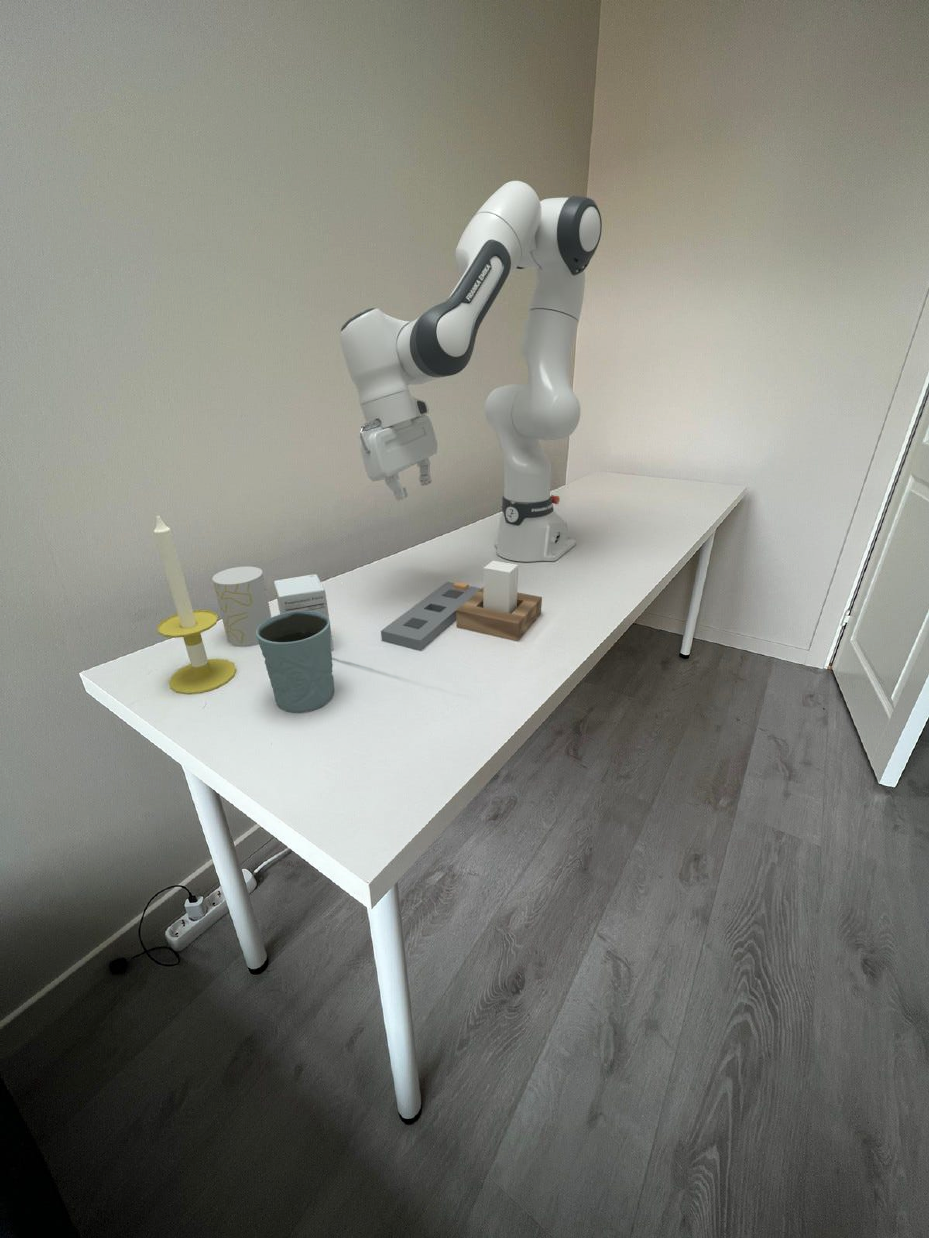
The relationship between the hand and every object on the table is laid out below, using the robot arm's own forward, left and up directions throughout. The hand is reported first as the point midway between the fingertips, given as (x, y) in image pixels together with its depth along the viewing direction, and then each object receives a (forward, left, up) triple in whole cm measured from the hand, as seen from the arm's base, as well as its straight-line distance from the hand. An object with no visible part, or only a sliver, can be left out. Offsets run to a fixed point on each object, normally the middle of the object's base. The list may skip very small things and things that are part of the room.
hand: (415, 491), depth 99 cm
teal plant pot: (+34, +10, -23) cm, 42 cm away
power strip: (+4, +8, -23) cm, 25 cm away
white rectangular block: (-3, +18, -22) cm, 29 cm away
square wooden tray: (-3, +18, -23) cm, 29 cm away
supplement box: (+26, -1, -23) cm, 35 cm away
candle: (+42, -7, -23) cm, 49 cm away
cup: (+30, -14, -23) cm, 40 cm away
